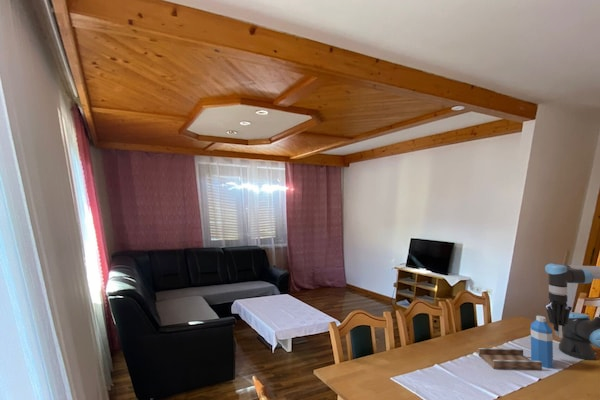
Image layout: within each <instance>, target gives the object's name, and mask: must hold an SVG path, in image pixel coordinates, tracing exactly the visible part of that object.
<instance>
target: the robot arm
mask: <svg viewBox="0 0 600 400" xmlns="http://www.w3.org/2000/svg"><path fill="white" fill-rule="evenodd" d="M544 270H545V273H546V274H547V275H548V299H549V303H548V304H545V305H544V307H545V309H546V313H547V317H548V320H549V323H551V324H553V330H554V336H555V337H557V338H559V339H560V343H559V344H558V350H559V351H560V352H562V353H564V354H565V355H568V356H570V357H573V358H576V359H580V360H589V361H591V360H592V359H593V360H595V359H596V353H595V352H594V347H596V348H598V349H599V348H600V316H595V317H594V318H593V319H592V320H591V317H590V315H589V314H586V313H582V312H581V313H580V312H572V309H573V308H572V306H570V305H568V284H582V285H584V284H590V283H592V282H593V281H594V280H600V265H598V266H597V265H577V264H576V265H575V264H574V265H573V264H558V263H553V262H552V263H548V264H546V265H545V267H544ZM592 345H593V346H594V347H593V346H592Z"/></svg>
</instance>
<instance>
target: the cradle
mask: <svg viewBox="0 0 600 400" xmlns="http://www.w3.org/2000/svg"><path fill="white" fill-rule="evenodd" d="M478 357H480V359H482V360H483V361H484V362H485V363H486V364H488V366H490V367H491V368H492V369H494V370H517V371H519V370H522V371H542V369H543V367H542V362H541V361H531V359H529V358H528V357H527V356H525V355H524V349H522V348H493V347H492V348H491V347H490V348H488V347H482V348H481V347H478Z"/></svg>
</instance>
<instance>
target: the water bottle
mask: <svg viewBox="0 0 600 400" xmlns="http://www.w3.org/2000/svg"><path fill="white" fill-rule="evenodd" d="M553 342H554V341H553V328H551V325H549V323H548V322H547V318H546V317H545V316H543V315H536V316H535V320H533V321H532V322H531V323H530V360H531V361H541V362H542V368H545V369H553V368H554V355H553V354H554V353H553V350H554V347H553V345H554V344H553Z"/></svg>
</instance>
